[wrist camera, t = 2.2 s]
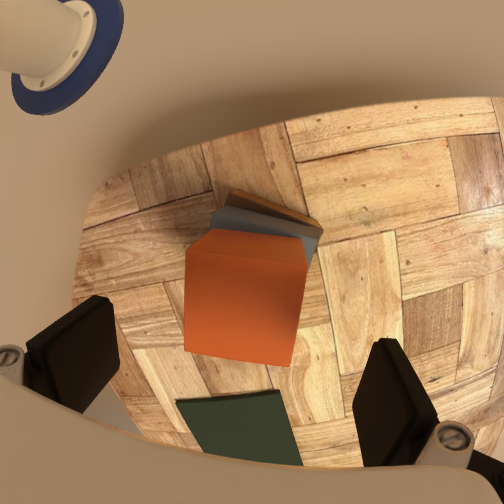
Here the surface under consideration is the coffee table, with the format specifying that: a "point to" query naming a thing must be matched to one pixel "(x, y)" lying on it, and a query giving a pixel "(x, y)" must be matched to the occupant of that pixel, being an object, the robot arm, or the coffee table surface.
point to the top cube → (244, 296)
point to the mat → (243, 427)
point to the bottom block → (271, 210)
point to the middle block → (264, 226)
